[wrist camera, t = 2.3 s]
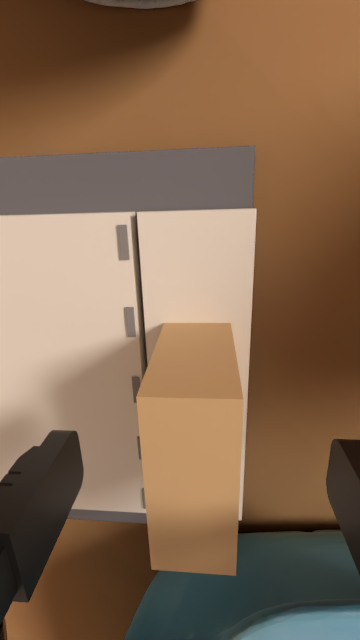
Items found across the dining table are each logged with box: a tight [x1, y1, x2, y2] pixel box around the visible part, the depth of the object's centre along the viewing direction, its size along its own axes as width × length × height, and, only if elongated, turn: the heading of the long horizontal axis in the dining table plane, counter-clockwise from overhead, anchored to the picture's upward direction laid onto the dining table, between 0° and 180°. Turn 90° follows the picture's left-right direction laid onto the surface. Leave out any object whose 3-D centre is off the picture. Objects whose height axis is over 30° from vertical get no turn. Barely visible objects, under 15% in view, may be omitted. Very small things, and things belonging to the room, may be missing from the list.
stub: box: [136, 208, 257, 576], centre depth 11 cm, size 14×4×6 cm, turn 2°
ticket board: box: [0, 146, 255, 528], centre depth 15 cm, size 18×14×2 cm
